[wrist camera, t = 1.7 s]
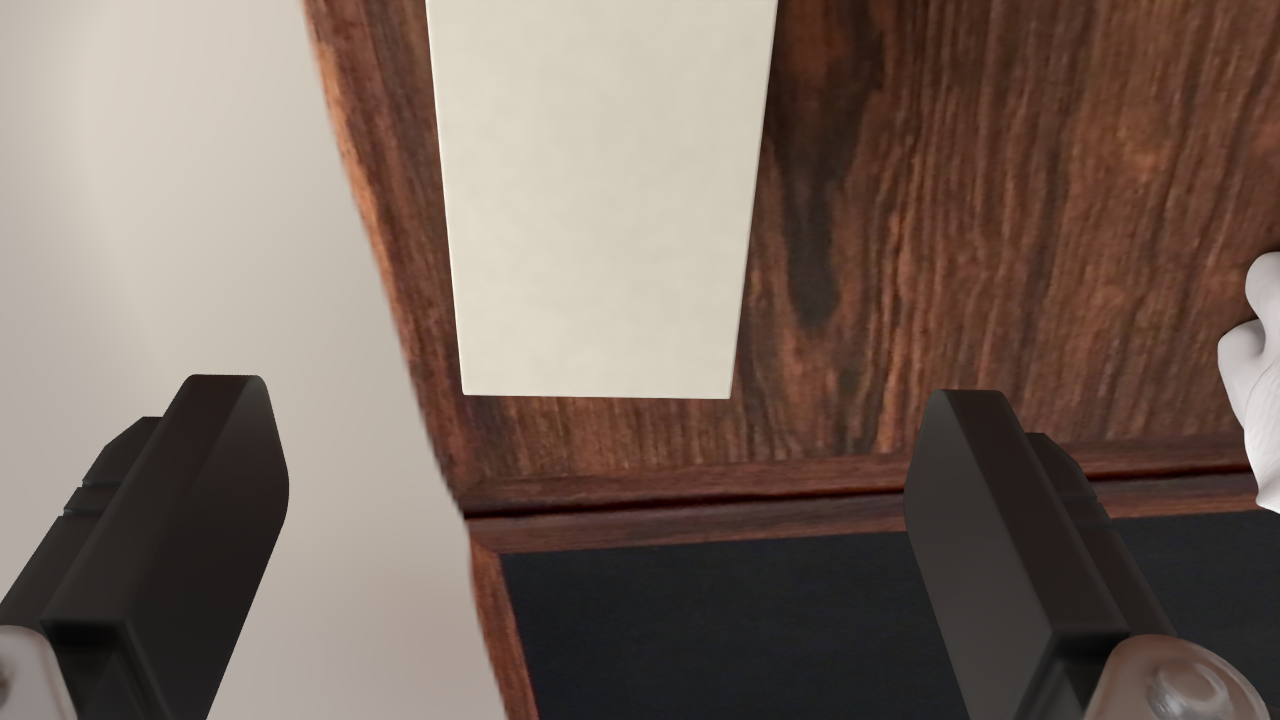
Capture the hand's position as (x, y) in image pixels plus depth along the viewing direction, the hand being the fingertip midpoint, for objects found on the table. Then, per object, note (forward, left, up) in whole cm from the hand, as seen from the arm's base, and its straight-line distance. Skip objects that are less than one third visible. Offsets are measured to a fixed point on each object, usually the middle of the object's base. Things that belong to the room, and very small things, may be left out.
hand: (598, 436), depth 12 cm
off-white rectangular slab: (0, 0, -8) cm, 8 cm away
